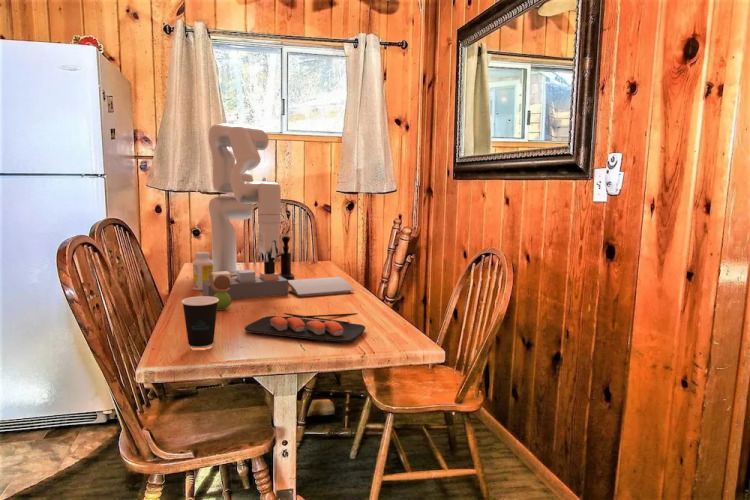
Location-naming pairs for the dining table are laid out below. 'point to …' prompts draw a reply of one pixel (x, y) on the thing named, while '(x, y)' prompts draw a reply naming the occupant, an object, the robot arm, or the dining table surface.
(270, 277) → the terracotta key
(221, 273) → the cream key
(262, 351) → the dining table surface
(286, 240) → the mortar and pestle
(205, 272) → the supplement bottle
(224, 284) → the snail figurine
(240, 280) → the slate key
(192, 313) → the dixie cup
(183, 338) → the dining table surface
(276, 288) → the key panel
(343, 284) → the book
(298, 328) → the sushi plate
